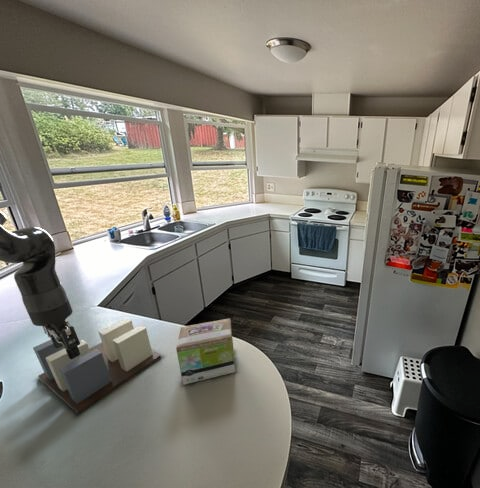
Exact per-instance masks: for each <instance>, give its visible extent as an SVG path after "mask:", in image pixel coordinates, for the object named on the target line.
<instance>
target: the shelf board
mask: <svg viewBox="0 0 480 488" xmlns="http://www.w3.org/2000/svg"><path fill="white" fill-rule="evenodd" d="M95 349H97V350H98V351H100V352H101V353H102V355H103V358H104V361H105V364H106V367H107V370H108V373H109V376H110V378H111V382H110V383H109V384H107V385H106V386H104V387H102V388H101V389H99V390H98V391H96V392H95V393H93V394H92V395H90V396H89V397H87V398H86V399H84V400H83V401H81V402H80V403H78V404H77V403H76V402H75V401H73V400H72V398H71V396H70V393H69V391H68V389H67V390H65V391H62V390H61V389H60V388H59V387H58V385H57V383H56V381H55V378H54V379H52V380H50V379H49V378H47V377H46V375H45V373H44V372H43V373H41V374H38V375H37V377H38V379H39V380H40V381H41V382H42V383H44V385H46V386H47V387H48V388H49V389H50V390H51V391H52V392H54V394H55V395H56V396H58V397H59V398H60V399H61V400H62V401H63V402H64V403H65V404H66V405H68V407H70V408H71V409H72V410H73V411H74V412H75V413H76V414H77V415H80V414H81V413H83V412H84V411H86V410H87V409H89V408H90V407H92V406H93V405H95V404H96V403H97V402H99V401H100V400H102V399H103V398H105V397H107V396H108V395H109V394H111V393H113V392H114V391H115V390H116V389H118V388H119V387H121V386H122V385H124V384H126V382H128V381H129V380H131V379H133V378H134V377H135V376H137V375H139V374H140V373H141V372H143V371H144V370H146V369H147V368H149V367H150V366H152V365H154V363H156V362H157V361H159V360H160V359H162V357H161V355H160V354H159V353H158V352H155V351H154V350H152V353H153V355H151V356H150V357H148V358H147V359H145V360H144V361H142V362H141V363H139V364H138V365H136V366H135V367H133V368H132V369H130V370H128V371H127V372H126V371H125V370H123V369H122V368H121V366H120V363H119V359H117V360H115V361H114V362H112V361H110V360H109V359H107V356H106V353H105V350H104V347H103V344H102V342H100V343H98V344H95V345H94V346H92V347H89V350H90V352H91V351H93V350H95Z"/></svg>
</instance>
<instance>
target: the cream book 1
mask: <svg viewBox="0 0 480 488" xmlns="http://www.w3.org/2000/svg"><path fill="white" fill-rule="evenodd" d="M79 341H80V345H78V349H79V351H80V355H79V356H77V357H76V358H74V359H70V358H69V357H68V355H67V352H66V350H65V349H62V350H60V351H58V352H56V353H54V354H52V355H50V356H48V357H46V361H47V363H48V365H49V367H50V369H51V372H52V374H53V376H54V378H55V381H56V383H57V385H58V387H59V388H60V389H61V390H62V391H65V390H67V387H66V384H65V382H64V380H63V377H62V375H61V373H60V370H59V369H60V368H61V367H63V366H65V365H67V364H69V363H71V362H73V361H75V360H76V359H78V358H80V357H82V356H84V355H86V354H88V353H90V350H89V349H90V347H89V344H88V342H86V341H85V340H83V339H81V340H79Z"/></svg>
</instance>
